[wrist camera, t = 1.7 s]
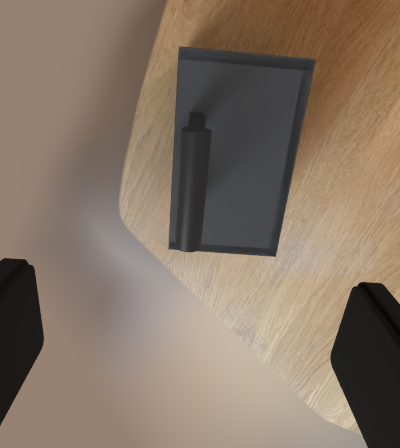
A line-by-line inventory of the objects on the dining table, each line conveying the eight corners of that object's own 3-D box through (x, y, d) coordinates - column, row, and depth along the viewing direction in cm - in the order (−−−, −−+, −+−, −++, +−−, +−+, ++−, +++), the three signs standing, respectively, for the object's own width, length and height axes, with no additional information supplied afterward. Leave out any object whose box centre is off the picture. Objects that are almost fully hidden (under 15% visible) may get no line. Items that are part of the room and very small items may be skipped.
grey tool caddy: (255, 207, 39) (176, 201, 39) (279, 60, 33) (184, 51, 32) (298, 314, 22) (159, 305, 22) (364, 58, 16) (170, 39, 16)
